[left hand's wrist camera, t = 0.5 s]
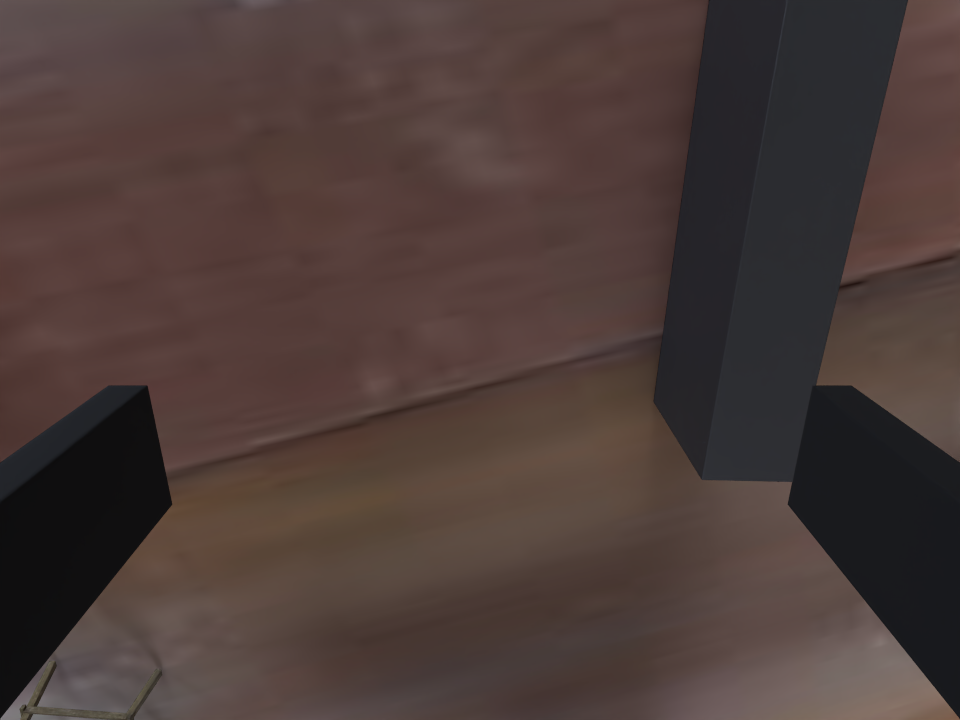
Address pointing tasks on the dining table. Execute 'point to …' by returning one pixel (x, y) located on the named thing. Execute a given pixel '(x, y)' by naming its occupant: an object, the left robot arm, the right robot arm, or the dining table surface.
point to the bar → (768, 222)
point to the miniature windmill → (32, 708)
